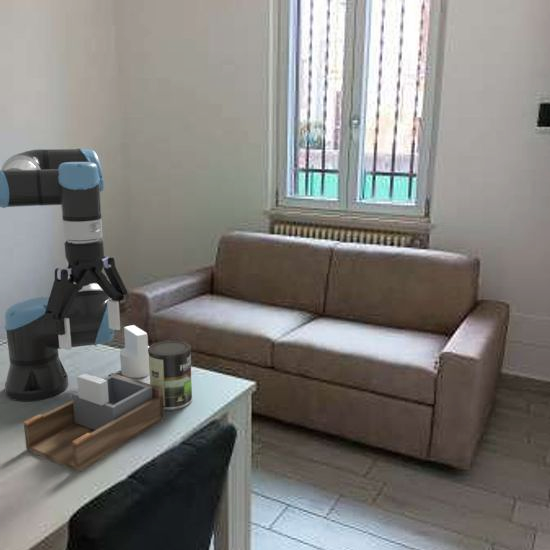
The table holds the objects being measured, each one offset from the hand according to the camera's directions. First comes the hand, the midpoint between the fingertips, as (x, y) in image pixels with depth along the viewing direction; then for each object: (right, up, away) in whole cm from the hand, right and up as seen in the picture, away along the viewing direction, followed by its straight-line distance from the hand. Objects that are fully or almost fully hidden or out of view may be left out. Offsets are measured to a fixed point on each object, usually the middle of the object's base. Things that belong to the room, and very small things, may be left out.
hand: (91, 338), depth 125 cm
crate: (+2, -19, +9) cm, 22 cm away
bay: (0, -22, +6) cm, 23 cm away
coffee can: (+13, -18, +22) cm, 31 cm away
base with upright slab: (+1, -14, +39) cm, 42 cm away
